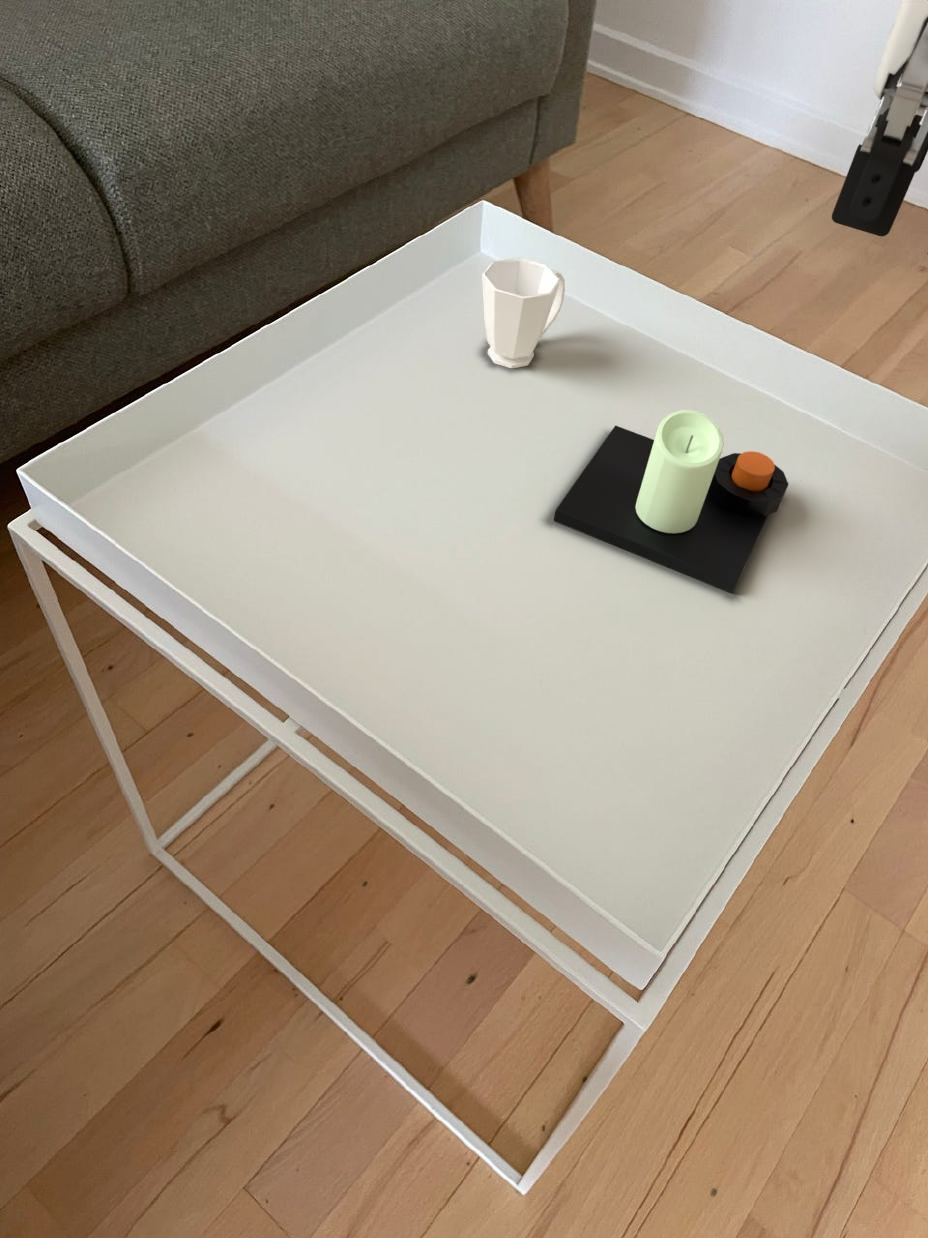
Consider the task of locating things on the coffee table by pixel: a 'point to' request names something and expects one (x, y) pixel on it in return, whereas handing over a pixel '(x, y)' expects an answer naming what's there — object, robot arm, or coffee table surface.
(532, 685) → the coffee table surface
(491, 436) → the coffee table surface
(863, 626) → the coffee table surface
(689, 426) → the candle
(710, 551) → the scale
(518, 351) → the cup
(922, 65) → the robot arm
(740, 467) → the button
